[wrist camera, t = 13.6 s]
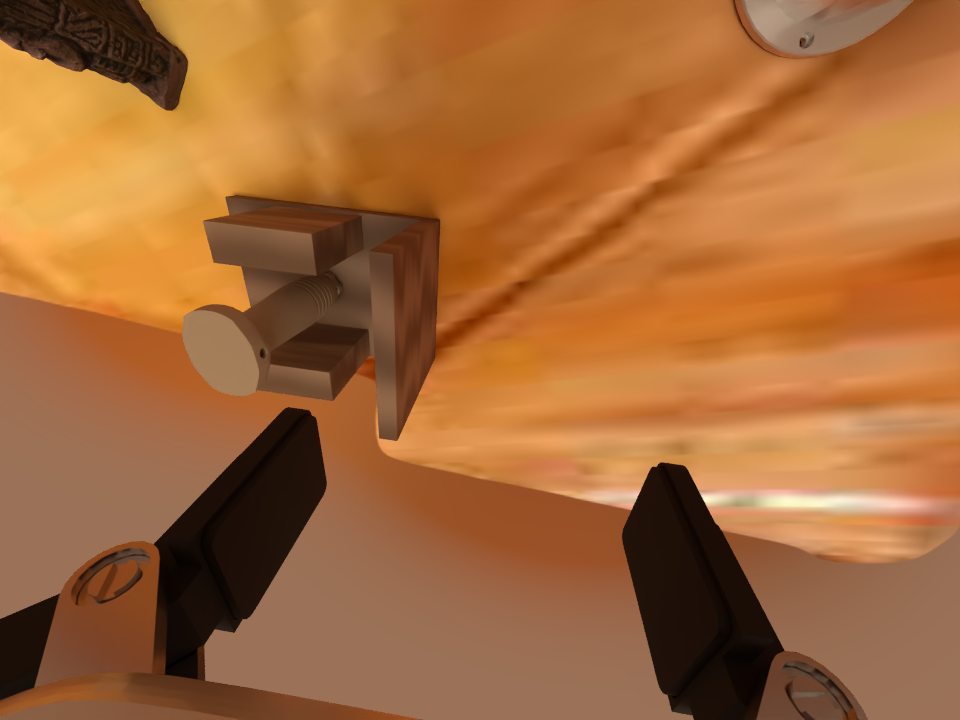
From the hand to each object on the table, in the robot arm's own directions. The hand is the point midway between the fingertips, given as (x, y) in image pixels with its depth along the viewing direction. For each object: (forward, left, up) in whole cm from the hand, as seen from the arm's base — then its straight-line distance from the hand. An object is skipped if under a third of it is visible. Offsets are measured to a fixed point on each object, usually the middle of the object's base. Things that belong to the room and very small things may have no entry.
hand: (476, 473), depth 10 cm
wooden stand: (+6, -18, -28) cm, 34 cm away
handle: (+5, -18, -27) cm, 33 cm away
